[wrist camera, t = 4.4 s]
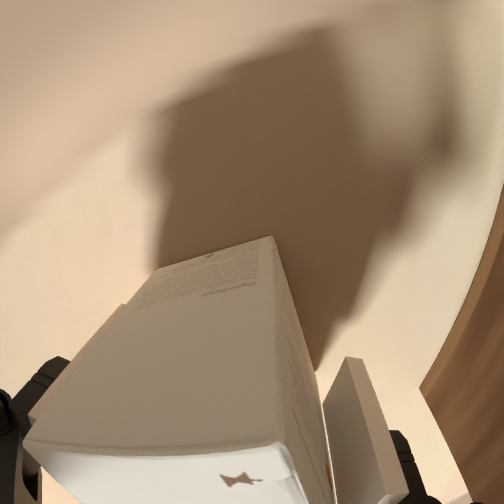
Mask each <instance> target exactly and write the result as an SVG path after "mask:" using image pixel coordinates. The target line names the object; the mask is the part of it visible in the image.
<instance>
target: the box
mask: <svg viewBox="0 0 504 504" xmlns="http://www.w3.org/2000/svg"><path fill="white" fill-rule="evenodd" d="M419 389H420V391H421V393H422V395H423V397H424V399H425V401H426V403H427V405H428V407H429V408H430V410H431V412H432V414H433V416H434V418H435V420H436V422H437V424H438V426H439V428H440V430H441V432H442V434H443V436H444V438H445V441H446V443H447V445H448V447H449V449H450V451H451V453H452V455H453V457H454V460H455V462H456V464H457V466H458V468H459V470H460V473H461V475H462V477H463V479H464V482H465V484H466V486H467V489H468V491H469V493H470V496H471V498H472V501H473V502H481V503H483V504H504V186H503V190H502V194H501V198H500V202H499V205H498V209H497V213H496V216H495V220H494V223H493V226H492V230H491V233H490V236H489V239H488V242H487V245H486V248H485V251H484V254H483V257H482V259H481V262H480V265H479V267H478V270H477V273H476V275H475V278H474V280H473V283H472V285H471V288H470V290H469V293H468V295H467V297H466V300H465V302H464V304H463V306H462V309H461V311H460V313H459V315H458V317H457V319H456V322H455V324H454V326H453V328H452V330H451V332H450V334H449V336H448V338H447V340H446V342H445V344H444V346H443V348H442V349H441V351H440V353H439V355H438V357H437V359H436V360H435V362H434V364H433V366H432V368H431V369H430V371H429V373H428V375H427V376H426V378H425V380H424V381H423V383H422V385H421V386H420V388H419Z"/></svg>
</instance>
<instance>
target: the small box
mask: <svg viewBox="0 0 504 504" xmlns="http://www.w3.org/2000/svg"><path fill="white" fill-rule="evenodd" d="M22 445H23V447H24V448H25V449H26V450H27V452H28V453H29V454H30V455H31V456H32V457H33V458H34V459H35V460H36V461H37V462H38V463H39V464H40V465H41V466H42V467H43V468H44V469H45V470H46V471H47V472H48V473H49V474H50V475H51V476H52V477H53V478H54V479H55V480H56V481H57V482H58V483H59V484H60V485H61V486H62V487H64V488H65V489H66V490H67V491H68V492H69V493H70V494H71V495H72V496H73V497H75V498H76V499H77V500H78V501H79V502H81V503H82V504H336V499H335V492H334V485H333V478H332V471H331V464H330V458H329V451H328V445H327V439H326V433H325V427H324V420H323V414H322V408H321V402H320V396H319V391H318V385H317V380H316V375H315V372H314V369H313V366H312V362H311V359H310V355H309V352H308V349H307V345H306V342H305V338H304V335H303V331H302V328H301V325H300V321H299V318H298V315H297V311H296V308H295V305H294V301H293V298H292V295H291V292H290V288H289V285H288V282H287V278H286V275H285V272H284V269H283V265H282V262H281V259H280V256H279V252H278V249H277V245H276V242H275V238H274V236H272V235H270V236H267V237H263V238H260V239H257V240H253V241H250V242H246V243H243V244H239V245H236V246H233V247H229V248H226V249H222V250H219V251H216V252H212V253H209V254H205V255H202V256H199V257H195V258H192V259H189V260H185V261H182V262H179V263H175V264H172V265H169V266H166V267H162V268H158V269H157V270H156V271H155V272H154V273H153V274H152V275H151V276H150V277H149V278H148V280H147V281H146V282H145V283H144V284H143V285H142V287H141V288H140V289H139V290H138V291H137V292H136V293H135V295H134V296H133V297H132V298H131V299H130V301H129V302H128V303H127V304H126V306H125V307H124V308H123V309H122V310H121V311H120V313H119V314H118V315H117V316H116V317H115V319H114V320H113V321H112V322H111V323H110V325H109V326H108V327H107V328H106V330H105V331H104V332H103V333H102V335H101V336H100V337H99V338H98V340H97V341H96V342H95V343H94V345H93V346H92V347H91V348H90V350H89V351H88V352H87V353H86V355H85V356H84V357H83V359H82V360H81V361H80V362H79V364H78V365H77V366H76V367H75V369H74V370H73V371H72V372H71V374H70V375H69V376H68V377H67V379H66V380H65V381H64V383H63V384H62V386H61V387H60V388H59V390H58V391H57V393H56V394H55V395H54V397H53V398H52V399H51V401H50V402H49V404H48V405H47V406H46V408H45V409H44V410H43V412H42V413H41V415H40V416H39V417H38V419H37V420H36V422H35V423H34V425H33V426H32V427H31V429H30V430H29V432H28V433H27V435H26V436H25V438H24V440H23V442H22Z"/></svg>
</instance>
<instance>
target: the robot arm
mask: <svg viewBox="0 0 504 504" xmlns="http://www.w3.org/2000/svg"><path fill="white" fill-rule="evenodd" d="M125 306H126V305H125V304H121V305H120V306H119V307H118V308H117V309H116V311H115V312H114V313H113V314H112V315H111V316H110V317H109V318H108V319H107V321H106V322H105V323H104V324H103V325H102V326H101V327H100V328H99V330H98V331H97V332H96V333H95V334H94V335H93V336H92V337H91V339H90V340H89V341H88V342H87V343H86V344H85V346H84V347H83V348H82V349H81V350H80V351H79V352H78V354H77V355H76V356H75V357H74V358H73V360H72V361H69V360H66V359H64V358H62V357H59V356H57V357H55V358H53V359H51V360H49V361H47V362H45V364H44V365H43V366H42V367H41V368H40V369H39V370H38V372H37V373H35V374H34V376H33V377H32V378H31V380H29V381H28V382H27V383H26V384H25V386H24V387H23V388H22V389H21V390H20V391H19V392H18V393H17V395H16V396H15V397H14V398H13V399H11V397H10V395H9V394H8V393H6V392H5V391H4V390H2V389H0V504H42V472H41V468H40V467H41V465H40V464H39V463H38V462H37V461H36V460H35V459H34V458H33V457H32V456H31V455H30V454H29V453H28V452H27V450H26V449H25V448H24V447H23V445H22V442H23V440H24V438H25V436H26V435H27V433H28V432H29V430H30V429H31V427H32V426H33V425H34V423H35V422H36V420H37V419H38V417H39V416H40V415H41V413H42V412H43V410H44V409H45V408H46V406H47V405H48V404H49V402H50V401H51V399H52V398H53V397H54V395H55V394H56V393H57V391H58V390H59V388H60V387H61V386H62V384H63V383H64V381H65V380H66V379H67V377H68V376H69V375H70V374H71V372H72V371H73V370H74V369H75V367H76V366H77V365H78V364H79V362H80V361H81V360H82V359H83V357H84V356H85V355H86V353H87V352H88V351H89V350H90V348H91V347H92V346H93V345H94V343H95V342H96V341H97V340H98V338H99V337H100V336H101V335H102V333H103V332H104V331H105V330H106V328H107V327H108V326H109V325H110V323H111V322H112V321H113V320H114V319H115V317H116V316H117V315H118V314H119V313H120V311H121V310H122V309H123V308H124V307H125ZM322 405H323V411H324V417H325V423H326V429H327V435H328V441H329V448H330V454H331V461H332V467H333V474H334V481H335V488H336V496H337V503H338V504H442V503H441V502H440V501H438V500H437V499H436V498H434V497H432V496H428V495H427V493H426V490H425V487H424V485H423V482H422V479H421V476H420V473H419V471H418V468H417V465H416V463H414V461H415V460H414V457H413V454H411V449H410V446H409V444H408V441H407V440H406V438H405V437H404V436H403V435H402V434H401V432H400V431H399V430H389V429H388V427H387V424H386V421H385V418H384V415H383V413H382V410H381V407H380V404H379V402H378V399H377V396H376V394H375V391H374V388H373V386H372V383H371V380H370V378H369V375H368V373H367V370H366V368H365V365H364V362H363V360H362V359H358V358H352V357H345V359H344V361H343V363H342V365H341V367H340V370H339V372H338V374H337V376H336V378H335V380H334V382H333V384H332V386H331V388H330V390H329V392H328V394H327V396H326V398H325V400H324V402H323V404H322ZM470 504H483V503H481V502H473V503H470Z"/></svg>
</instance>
